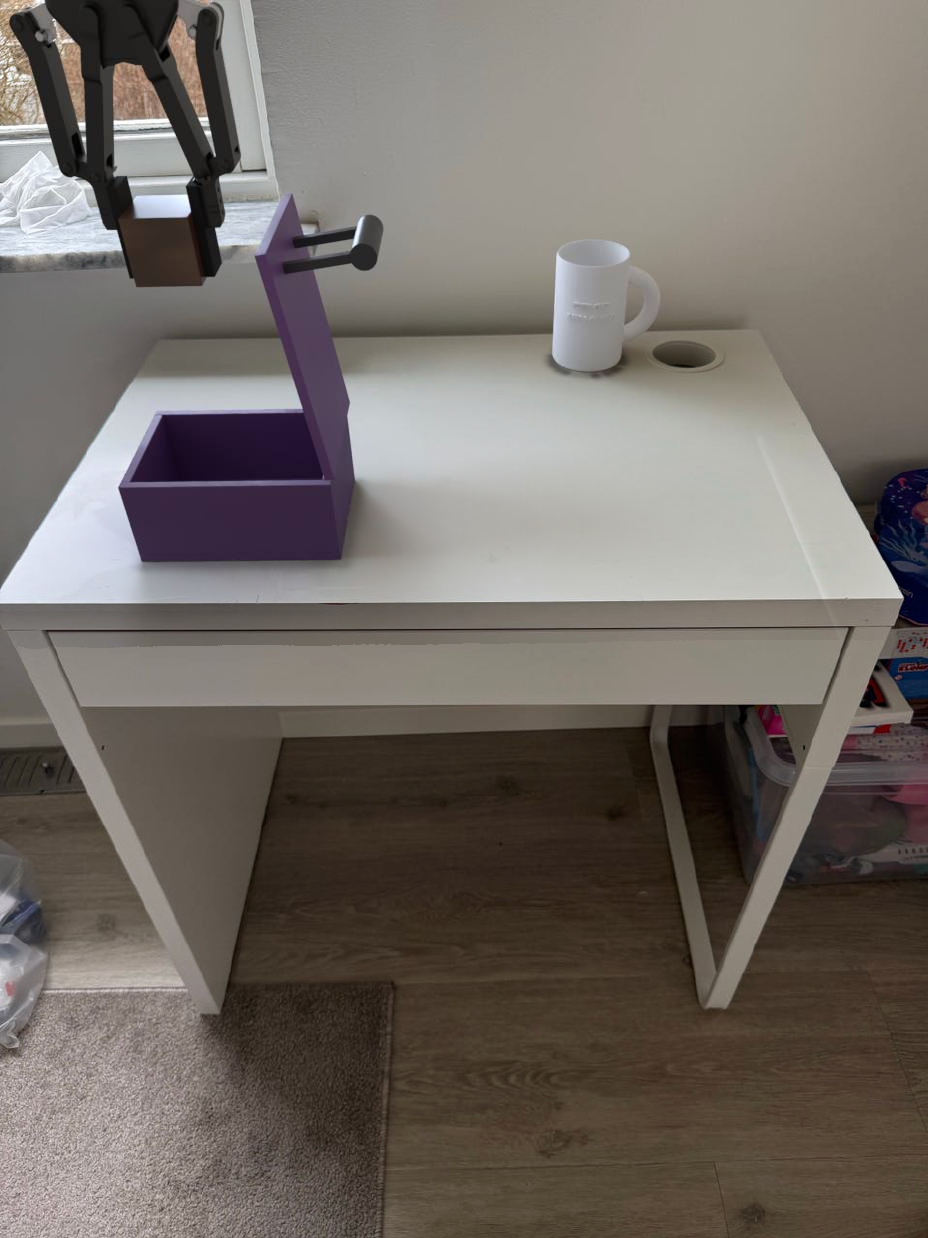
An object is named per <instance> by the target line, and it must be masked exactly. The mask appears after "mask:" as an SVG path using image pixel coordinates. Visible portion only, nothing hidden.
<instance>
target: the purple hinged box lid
mask: <svg viewBox="0 0 928 1238" xmlns="http://www.w3.org/2000/svg"><path fill="white" fill-rule="evenodd" d="M357 222H358V223H357V225H356V226H350V227H343V228H338V229H331V230H325V231H320V232H314V233H308V234H305V233H304V231H303V226H302V223H301V220H300V216H299V212H298V208H297V205H296V201H295V198H294V194H293V193H286V194H282V196H281V198H280V200H279V203H278V204H277V207H276V209H275V211H274V213H273V215H272V218H271V219H270V222H269V224H268V226H267V227H266V230H265V232H264V235H263V236H262V239H261V241H260V244H259V245H258V248H257V250H256V252H255V253H254V260H255V261H256V266H257V269H258V272H259V275H260V278H261V281H262V285H263V287H264V291H265V294H266V298H267V300H268V303H269V307H270V310H271V313H272V317H273V319H274V320H273V321H274V322H275V326H276V329H277V332H278V336H279V339H280V343H281V345H282V348H283V351H284V355H285V359H286V361H287V364H288V367H289V370H290V374H291V377H292V380H293V383H294V386H295V389H296V392H297V396H298V399H299V402H300V405H301V409H303V412H304V415H305V418H306V421H307V425H308V428H309V431H310V434H311V437H312V440H313V444H314V447H315V450H316V453H317V456H318V459H319V463H320V466H321V469H322V472H323V475H324V478H325V481H326V480H334V479H335V474H336V469H337V464H338V459H339V454H340V449H341V444H342V440H343V435H344V430H345V425H346V420H347V417H348V415H349V410H350V405H351V401H350V398H349V393H348V391H347V386H346V383H345V379H344V375H343V372H342V369H341V365H340V360H339V357H338V353H337V350H336V346H335V343H334V339H333V335H332V332H331V329H330V325H329V321H328V318H327V314H326V310H325V307H324V303H323V299H322V296H321V293H320V289H319V285H318V281H317V278H316V275H315V270H321V269H325V268H333V267H339V266H344V265H352V266H353V267H354V268H355V269H357V270H359V271H362V272H367V271H370V270H372V269H373V268H374V267H375V266H376V265H377V263H378V258H379V254H380V249H381V244H382V240H383V235H384V224H383V222H382V220H381V219H380V218H379V217H377V216H376V215H374V214H366V215H363V216H361V218H360V219H358V221H357ZM348 240H352V244H351V248H350V250H346V251H340V252H334V253H330V254H329V253H328V254H323V255H317V256H310V252H309V249H308V247H313V246H314V247H315V246H319V245H325V244H331V243H338V242H343V241H348Z"/></svg>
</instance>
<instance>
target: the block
mask: <svg viewBox="0 0 928 1238" xmlns="http://www.w3.org/2000/svg"><path fill="white" fill-rule="evenodd" d="M119 224H120V227H121V231H122V235H123V239H124V243H125V246H126V250H127V254H128V258H129V262H130V265H131V269H132V273H133V277H134V279H133V281H134V284H135V287H136V288H171V287H172V288H173V287H202V286H204V284H205V282H206V280H207V278H208V277H205V274H204V269H203V264H202V260H201V255H200V250H199V246H198V241H197V236H196V231H195V227H194V222H193V217H192V213H191V209H190V205H189V200H188V195H187V194H152V195H151V194H150V195H147V194H143V195H136V196H135V197H134V199H133V202H132V203H131V204H130V205H129V207H128V208H127V209H126V210H125V212H124V213H123V214H122V215H121V217H120V218H119Z"/></svg>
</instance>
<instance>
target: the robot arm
mask: <svg viewBox="0 0 928 1238" xmlns="http://www.w3.org/2000/svg"><path fill="white" fill-rule="evenodd" d="M178 17H179V18H181V20H182V21H183V22H184V27H185V31H186V34H187V36H188V37H189V38H190V40H192V41H194V48H195V51H194V52H195V59H196V66H197V70H198V76H199V80H200V86H201V90H202V96H203V99H204V100H203V101H204V105H205V110H206V114H207V121H208V125H209V130H210V134H211V140H212V144H213V149H214V151H213V149H212V146H211V144H210V142H209V140H208V137H207V135H206V133H205V130H204V128H203V126H202V123H201V121H200V118H199V116H198V114H197V111H196V109H195V106H194V105H193V103H192V99H191V98H190V96H189V93H188V91H187V88H186V86H185V84H184V82H183V80H182V77H181V75H180V72H179V69H178V63H177V60H176V57H175V55H174V53H173V50H172V48H171V45H170V43H169V39H170V36H171V34H172V32H173V29H174V27H175V24H176V22H177V19H178ZM224 21H225V10H224V8H223V6H222V5H221V4H220V3H218V2H217V1H210V2H209V3H208V4H207V3H204V2H201V1H199V0H44V1H43V2H41V3H39V4H36V6H33V7H31V6H28V7H25V8H23V9H21V10H19V11H17V12H15V13H14V14H12V15H10V17H9V19H8V25H9V27H10V30H11V31H12V33H13V35H14V36H15V38H16V40H17V41H18V43H19V45H20V46H21V48H22V50H23V51H24V53H25V55H26V56H27V59H28V62H29V66H30V70H31V73H32V77H33V80H34V84H35V88H36V91H37V95H38V98H39V101H40V105H41V109H42V113H43V116H44V119H45V123H46V126H47V130H48V133H49V137H50V141H51V144H52V148H53V151H54V155H55V159H56V162H57V166H58V169H59V171H60V173H61V175H62V176H65V177H66V178H74V177H75V178H78V179H80V180H84V181H86V182H87V183H88V184H89V185H90V186H91V188H92V190H93V193H94V197H95V201H96V204H97V208H98V211H99V212H98V213H99V216H100V219H101V222H102V223H101V224H102V225H103V227H104V228H105V229H106V231H116V233H117V236H118V240H119V244H120V248H121V251H122V256H123V259H124V262H125V266H126V270H127V274H128V277H129V279H130V280H131V279H132V280H134V277H133V273H132V269H131V265H130V262H129V258H128V254H127V250H126V246H125V243H124V239H123V235H122V231H121V227H120V224H119V218H120V217H121V215H122V214H123V213H124V212H125V210H126V209H127V208H128V207H129V205H130V204H131V203H132V202H133V200H134V199H133V196H132V195H133V194H132V190H131V188H130V182H129V179H128V175H116V176H114V173H116V171H117V169H118V165H115V121H114V120H115V117H114V115H115V113H114V112H115V111H114V73H115V69H116V65H119V64H121V63H126V64H130V65H133V66H141V68H142V71H143V72H144V75H145V76H146V78H147V80H148V82H149V83H151V84H152V86H153V88H154V90H155V92H156V95H157V97H158V99H159V102H160V104H161V107H162V108H163V110H164V113H165V115H166V117H167V119H168V122H169V124H170V127H171V129H172V131H173V133H174V135H175V137H176V140H177V142H178V144H179V146H180V148H181V150H182V152H183V155H184V157H185V160H186V161H187V164H188V166H189V169H190V171H191V173H192V177H191V178H190V180H189V181H188V182H187V184H186V185H185V190H186V195H188V200H189V205H190V209H191V213H192V217H193V222H194V227H195V231H196V236H197V241H198V246H199V250H200V255H201V260H202V264H203V269H204V274H205V277H207V278H215V277H216V275H217V274H218V272H219V270H220V268H221V266H222V264H223V259H222V255H221V251H220V246H219V240H218V235H217V230H216V229H218V228H219V229H220V228H221V227H222V225H224V223H225V218H226V209H225V204H224V203H225V202H224V199H223V194H222V188H221V182H220V177H222V176H224V175H228V174H232V173H233V172H234V171H235V169H236V167H237V166H238V164H239V163H240V161H241V159H242V152H241V147H240V141H239V135H238V129H237V124H236V118H235V113H234V108H233V102H232V97H231V91H230V86H229V81H228V80H229V79H228V76H227V71H226V64H225V60H224V59H225V58H224V54H223V48H222V37H223V29H224V23H225V22H224ZM56 23H57V24H58V25H59V26H60V27H61V28H62V29H63V31H64V32H66V34H67V35H68V36H69V37H70V38H71V39H72V40H73V42H74V43H76V45H77V46H78V47H79V51H80V52H79V53H80V55H79V56H80V75H81V78H82V80H83V97H84V98H83V99H84V125H85V128H84V129H85V145H84V142H83V137H82V134H81V130H80V126H79V123H78V119H77V115H76V111H75V107H74V103H73V99H72V96H71V91H70V88H69V85H68V80H67V76H66V73H65V69H64V65H63V60H62V56H61V53H60V50H59V48H58V45H57V43H56V40H57V38H58V31H57V27H56Z"/></svg>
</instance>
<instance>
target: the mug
mask: <svg viewBox="0 0 928 1238" xmlns="http://www.w3.org/2000/svg"><path fill="white" fill-rule="evenodd" d="M555 259H556V261H555V282H554V302H553V303H554V308H553V309H554V310H553V329H552V350H551V354H552V357H553V359H554V361H555V362H556V364H558V365H559V366H561V367H563V368H565V369H568V370H571V371H576V372H582V373H583V372H585V373H586V372H587V373H591V372H601V371H606V370H609V369H611V368H612V367H613V368H614V367H615V366H616V365H617V364H618V363H619V362H620V361H621V359H622V353H623V343H626V342H629V341H632V340H634V339H636V338H639V336H642V335H643V334H644V333H646V331H648V330H649V329H650V328H651V326H652V325H653V323H654V322H655V320H656V319H657V317H658V314H659V311H660V307H661V292H660V287H659V285H658V283H657V282H656V280H655V279H654V278H653V276H652V275H651V274H650V273H648V272H647V271H645V270H643V269H642V268H639V267H637V266H634V265H631V260H632V254H631V251H630V250H629V249H628V248H627V247H626V246H624V245H622V244H621V243H618V242H615V241H610V240H606V239H580V240H579V239H578V240H575V241H574V240H573V241H570V242H568V243H565V244H563V245H561V246H560V247H559V249H558V250H557V252H556V257H555ZM629 284H630V285H633V286H635V287H636V288H637V289H638V290H639V291H640V293H641V294H642V297H643V298H642V299H643V304H642V306H641V307H642V308H641V310H640V311H639V313H638V314H637V316H636V317H635V318H634V319H632V320H631V321H630V322H628V323H625V322H626V312H627V302H628V291H629V290H628V289H629Z"/></svg>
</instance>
